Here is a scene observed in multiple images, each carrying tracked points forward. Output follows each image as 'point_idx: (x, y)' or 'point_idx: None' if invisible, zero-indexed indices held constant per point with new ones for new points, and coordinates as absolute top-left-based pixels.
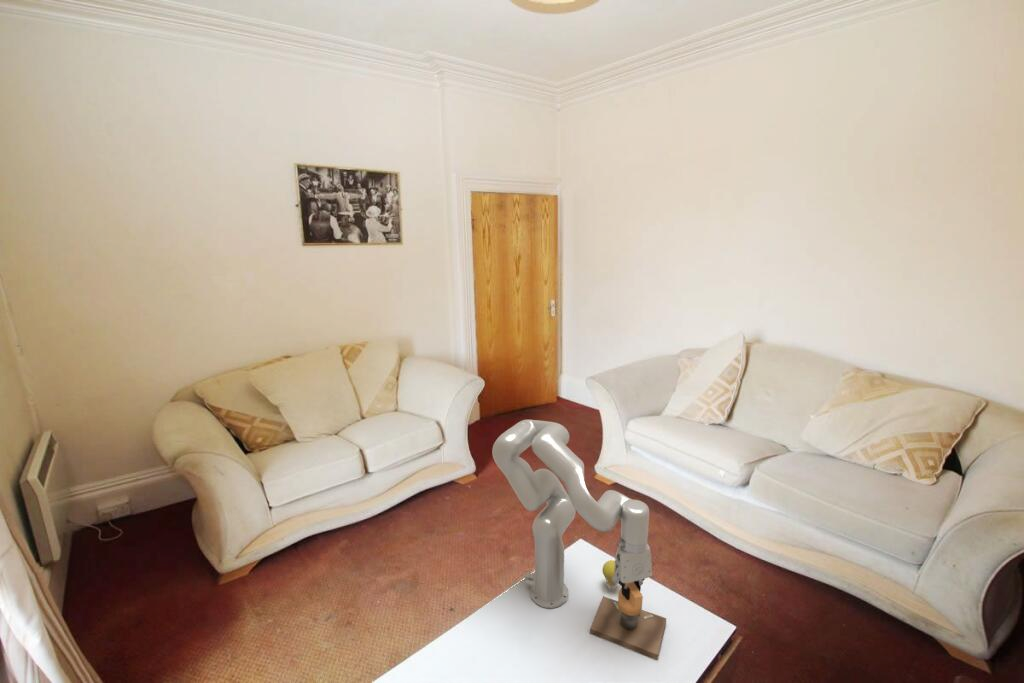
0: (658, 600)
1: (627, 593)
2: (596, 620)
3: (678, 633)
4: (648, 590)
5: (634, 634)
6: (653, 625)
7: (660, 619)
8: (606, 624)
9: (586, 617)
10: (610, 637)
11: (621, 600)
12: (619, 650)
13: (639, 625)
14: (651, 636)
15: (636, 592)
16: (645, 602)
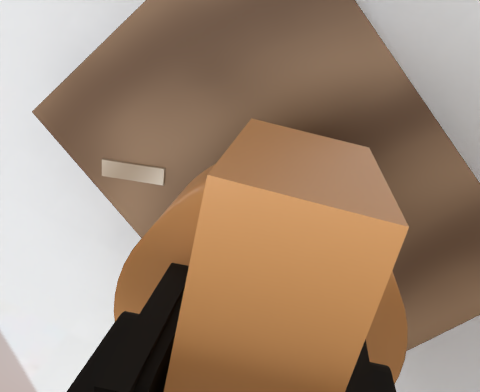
0: (7, 245)
1: (367, 378)
2: (458, 305)
3: (24, 12)
4: (22, 316)
5: (307, 105)
6: (142, 105)
7: (71, 121)
8: (421, 253)
9: (454, 350)
10: (466, 166)
11: (405, 331)
12: (450, 78)
13: (227, 148)
14: (210, 38)
15: (262, 316)
16: (80, 268)
